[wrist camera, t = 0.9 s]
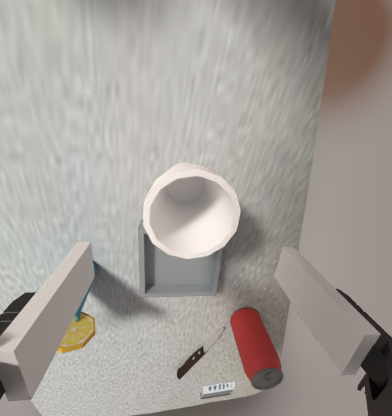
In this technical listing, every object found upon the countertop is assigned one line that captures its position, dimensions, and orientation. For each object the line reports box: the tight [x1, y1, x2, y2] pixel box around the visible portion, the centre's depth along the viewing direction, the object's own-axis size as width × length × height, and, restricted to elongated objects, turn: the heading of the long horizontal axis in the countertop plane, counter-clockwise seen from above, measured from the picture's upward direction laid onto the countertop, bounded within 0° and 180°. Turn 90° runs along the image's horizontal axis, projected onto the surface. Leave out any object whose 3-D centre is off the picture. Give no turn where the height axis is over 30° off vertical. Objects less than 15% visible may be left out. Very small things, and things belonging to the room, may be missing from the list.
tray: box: [138, 220, 223, 297], centre depth 35 cm, size 14×14×3 cm
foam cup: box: [143, 162, 241, 259], centre depth 25 cm, size 10×9×13 cm
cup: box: [36, 262, 97, 353], centre depth 28 cm, size 14×8×15 cm, turn 91°
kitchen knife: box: [177, 328, 224, 379], centre depth 46 cm, size 18×1×2 cm, turn 144°
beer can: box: [230, 308, 283, 390], centre depth 39 cm, size 7×7×12 cm
